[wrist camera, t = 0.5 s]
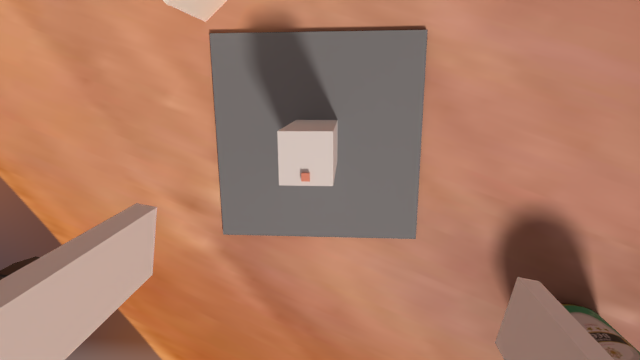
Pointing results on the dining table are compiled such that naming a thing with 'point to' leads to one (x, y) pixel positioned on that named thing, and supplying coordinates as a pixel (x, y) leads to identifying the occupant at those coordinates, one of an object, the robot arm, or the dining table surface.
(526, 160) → the dining table surface
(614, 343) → the beverage can
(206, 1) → the cream square sleeve
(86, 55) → the dining table surface
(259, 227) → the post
